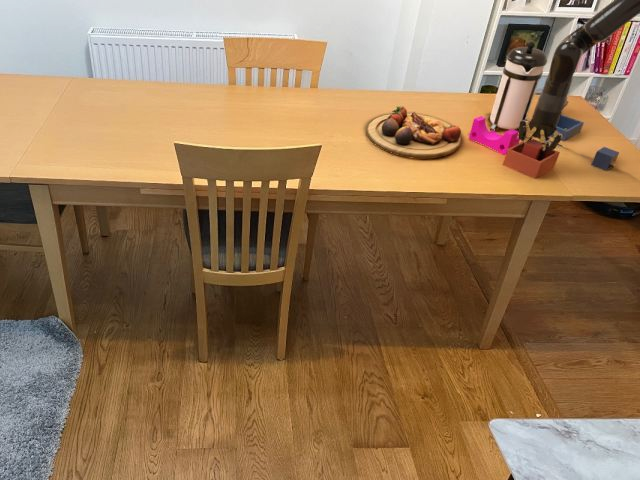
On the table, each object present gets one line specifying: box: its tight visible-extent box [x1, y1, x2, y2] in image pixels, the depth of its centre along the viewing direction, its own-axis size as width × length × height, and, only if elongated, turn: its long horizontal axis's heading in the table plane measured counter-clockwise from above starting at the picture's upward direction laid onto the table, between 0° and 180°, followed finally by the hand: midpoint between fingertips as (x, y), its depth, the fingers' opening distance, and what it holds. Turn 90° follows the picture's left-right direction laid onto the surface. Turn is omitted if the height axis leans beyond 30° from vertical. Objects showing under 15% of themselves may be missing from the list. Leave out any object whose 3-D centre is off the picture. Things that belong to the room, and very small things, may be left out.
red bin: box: [502, 140, 561, 180], centre depth 188 cm, size 12×12×6 cm
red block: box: [521, 138, 542, 160], centre depth 187 cm, size 5×5×5 cm
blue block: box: [591, 146, 620, 171], centre depth 190 cm, size 5×5×5 cm
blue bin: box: [549, 113, 585, 147], centre depth 206 cm, size 12×12×6 cm
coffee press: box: [488, 41, 548, 132], centre depth 204 cm, size 17×16×30 cm
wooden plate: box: [366, 106, 462, 159], centre depth 201 cm, size 32×32×8 cm
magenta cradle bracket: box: [468, 115, 521, 156], centre depth 199 cm, size 15×6×8 cm, turn 37°
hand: (531, 156), depth 188 cm, fingers closed on red block, 5 cm apart
